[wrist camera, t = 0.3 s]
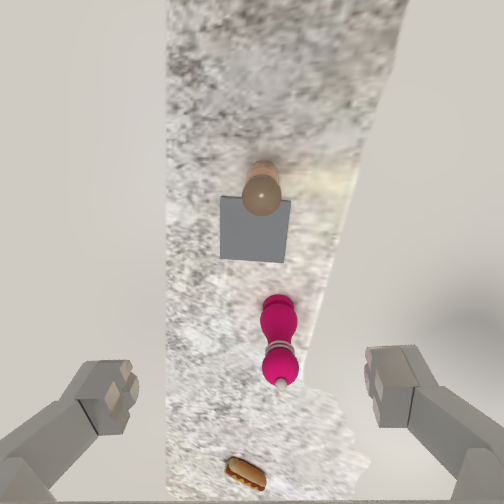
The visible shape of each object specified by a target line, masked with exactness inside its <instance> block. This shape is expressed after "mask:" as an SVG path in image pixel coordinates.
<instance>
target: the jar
mask: <svg viewBox="0 0 504 504" xmlns="http://www.w3.org/2000/svg"><path fill="white" fill-rule="evenodd" d="M242 202H243V205H244V207H245V208H246V209H247V210H248V211H249V212H250V213H252V214H253V215H256V216H267V215H270V214H272V213H273V212H275V211H276V210H277V209H278V207H279V205H280V203H281V189H280V186H279V180H278V172H277V169H276V167H275V166H274V165H273V164H272V163H270V162H268V161H259V162H256V163H255V164H253V165H252V166H251V168H250V169H249V172H248V177H247V181H246V184H245V186H244V189H243V193H242Z"/></svg>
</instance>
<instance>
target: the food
mask: <svg viewBox="0 0 504 504" xmlns="http://www.w3.org/2000/svg"><path fill="white" fill-rule="evenodd" d="M224 472H225V474H226V475H228V476H230V477H232V478H233V479H235V480H237V481H240V482H241V483H243V484H245V485H247V486H249V487H250V488H252V489H255V490H259V491H263V490H264V489H265V486H266V477H265V475H264V473H263V472H261V471H259V470H258V469H256V468H255V467H253V466H251V465H249V464H247V463H246V462H244V461H242V460H239V459H237V458H231V459H230V460H228V461H227V463H226V466H225V471H224Z"/></svg>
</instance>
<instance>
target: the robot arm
mask: <svg viewBox="0 0 504 504" xmlns="http://www.w3.org/2000/svg"><path fill="white" fill-rule="evenodd" d="M365 357H366V360H367V364H366V365H365V367H364V369H365V370H364V374H365V383H366V388H367V391H368V395H369V396H370V397H371V398H372V399H373V411H374V414H375V416H376V420H377V423H378V426H379V428H408V430H409V431H410V432H411V433H412V434H413V435H414V436H415V437H416V438H417V439H418V440H419V441H420V442H421V444H422V445H423V446H425V448H427V450H428V451H429V452H430V453H431V454H432V455H433V456H434V457H435V458H436V459H437V460H438V461H439V462H440V463H441V464H442V465H443V466H444V467H445V468H446V469H447V470H448V471H449V472H450V473H451V474H452V476H454V478H455V479H456V480H457V482H456V485H455V488H454V491H453V494H452V497H451V500H360V501H359V500H355V501H354V500H333V501H132V502H130V501H126V502H125V501H119V502H118V501H117V502H114V501H112V502H57V501H56V499H55V498H54V496H53V495H52V494H51V492H50V491H49V489H50V488H51V487H52V486H53V485H54V483H55V482H56V481H57V480H58V479H59V478H60V477H61V476H62V475H63V474H64V473H65V472H66V471H67V470H68V468H69V467H71V466H72V464H73V463H74V462H75V461H76V460H77V459H78V458H79V457H80V456H81V455H82V454H83V453H84V452H85V451H86V450H87V449H88V448H89V446H90V445H91V444H92V443H93V442H94V441H95V440H96V439H97V438H98V436H101V435H119V434H123V431H124V429H125V427H126V424H127V422H128V420H129V417H130V414H129V411H128V410H129V409H130V408H131V407H132V406H133V405H134V404H135V403H136V400H137V398H138V393H139V381H138V378H137V376H136V375H134V374H133V373H132V372H131V370H132V364H131V362H130V361H129V360H100V361H86V362H85V363H83V365H82V366H81V367H80V369H79V370H78V372H77V373H76V375H75V376H74V378H73V379H72V381H71V383H70V384H69V385H68V387H67V389H66V390H65V391H64V393H63V395H62V396H61V398H60V399H59V401H54V402H52V403H51V404H49V405H48V406H47V407H45V408H44V409H43V410H41V411H40V412H38V413H37V414H36V415H34V416H33V417H32V418H30V419H29V420H27V421H26V422H25V423H23V424H22V425H21V426H19V427H18V428H16V429H15V430H14V431H12V432H11V433H10V434H8V435H7V436H5V437H4V438H3V439H1V440H0V504H504V428H503V427H502V426H501V425H499V424H498V423H496V422H495V421H494V420H492V419H491V418H489V417H488V416H486V415H485V414H484V413H482V412H481V411H479V410H478V409H476V408H475V407H473V406H472V405H471V404H469V403H468V402H466V401H465V400H463V399H462V398H460V397H459V396H458V395H456V394H455V393H453V392H452V391H450V390H449V389H448V388H446V387H445V386H439V385H438V383H437V381H436V380H435V378H434V376H433V374H432V372H431V371H430V369H429V367H428V365H427V363H426V362H425V360H424V358H423V356H422V354H421V353H420V351H419V349H418V347H417V346H416V345H399V346H382V347H367V348H366V352H365Z"/></svg>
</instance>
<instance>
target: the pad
mask: <svg viewBox="0 0 504 504" xmlns="http://www.w3.org/2000/svg"><path fill="white" fill-rule="evenodd" d="M290 204H291V201H284V200H281V203H280V205H279V207H278V209H277V210H276V211H275V212H273V213H272V214H270V215H267V216H256V215H253V214H252V213H250V212H249V211H248V210H247V209H246V208H245V207H244V205H243V202H242V198H239V197H224V196H221V198H220V259H232V260H246V261H261V262H275V263H284V256H285V247H286V238H287V230H288V221H289V213H290Z"/></svg>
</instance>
